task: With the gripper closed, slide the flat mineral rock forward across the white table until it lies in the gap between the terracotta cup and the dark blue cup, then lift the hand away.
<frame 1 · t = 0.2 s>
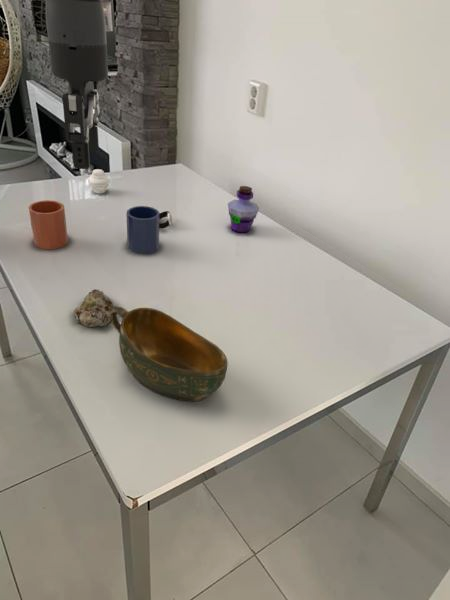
hand: (87, 158, 70), 31 cm above the table, tool pointing down, fingers open, 8 cm apart
cup right: (143, 246, 112), on the table
mineral rock: (96, 313, 88), on the table
potion bottle: (240, 229, 125), on the table
cup left: (51, 241, 109), on the table
white lidded jar: (99, 192, 137), on the table
painted kuksa bowl: (166, 376, 76), on the table
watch: (163, 225, 123), on the table
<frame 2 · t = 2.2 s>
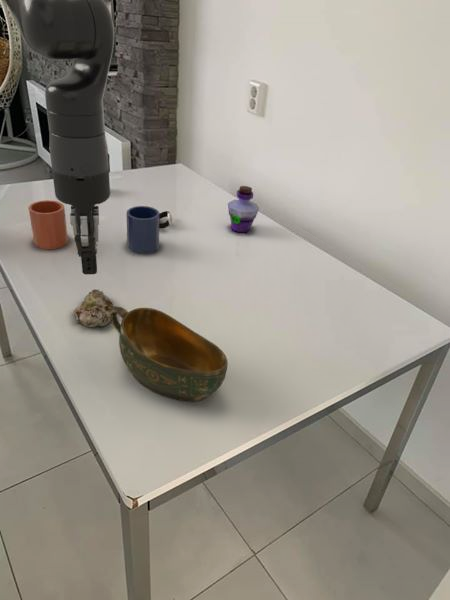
hand: (90, 271, 72), 15 cm above the table, tool pointing down, fingers closed
nothing on the table moved.
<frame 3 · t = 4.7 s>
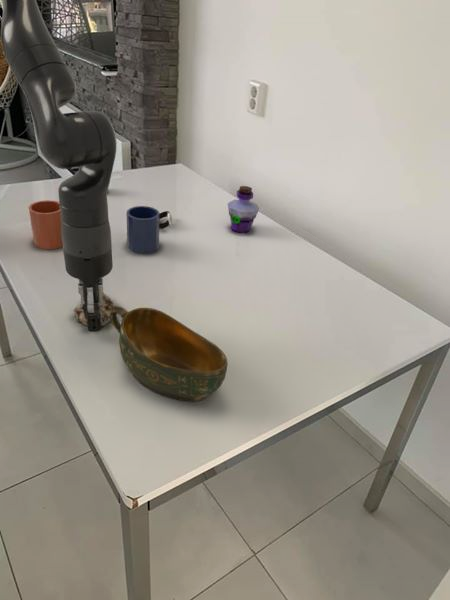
hand: (94, 329, 82), 1 cm above the table, tool pointing down, fingers closed
mineral rock: (96, 313, 88), on the table, touching gripper
everything else where it was.
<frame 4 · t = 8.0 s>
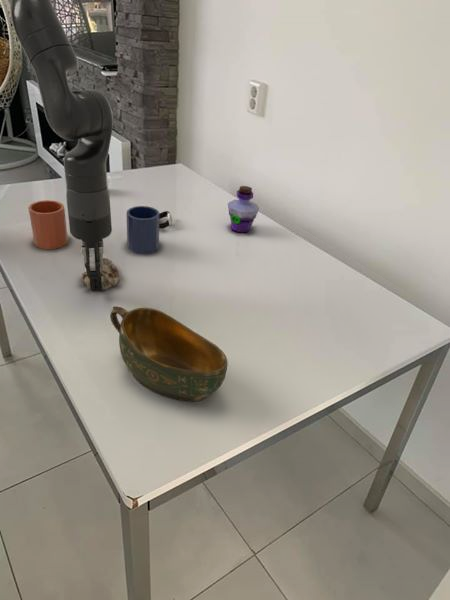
hand: (96, 289, 92), 2 cm above the table, tool pointing down, fingers closed
mineral rock: (102, 279, 98), on the table, touching gripper
everything else where it was.
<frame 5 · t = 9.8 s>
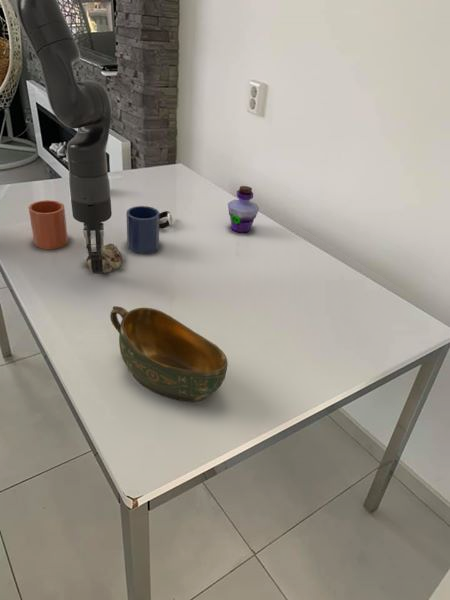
hand: (97, 271, 97), 2 cm above the table, tool pointing down, fingers closed
mineral rock: (106, 263, 104), on the table, touching gripper
everything else where it was.
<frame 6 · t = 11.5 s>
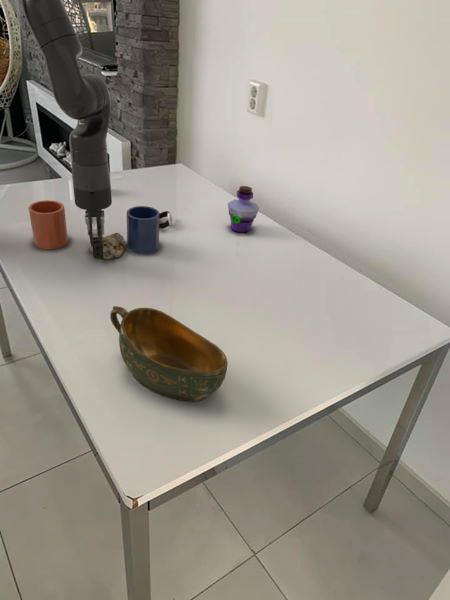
hand: (98, 256, 102), 2 cm above the table, tool pointing down, fingers closed
mineral rock: (109, 250, 108), on the table, touching gripper
everything else where it was.
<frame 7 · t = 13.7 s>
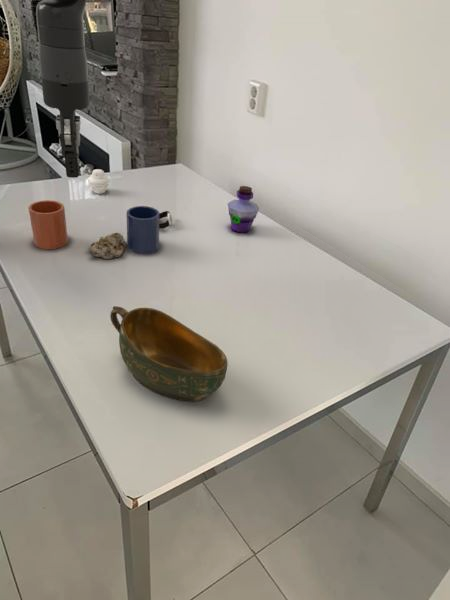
hand: (72, 176, 85), 22 cm above the table, tool pointing down, fingers closed
mineral rock: (110, 250, 109), on the table
everything else where it was.
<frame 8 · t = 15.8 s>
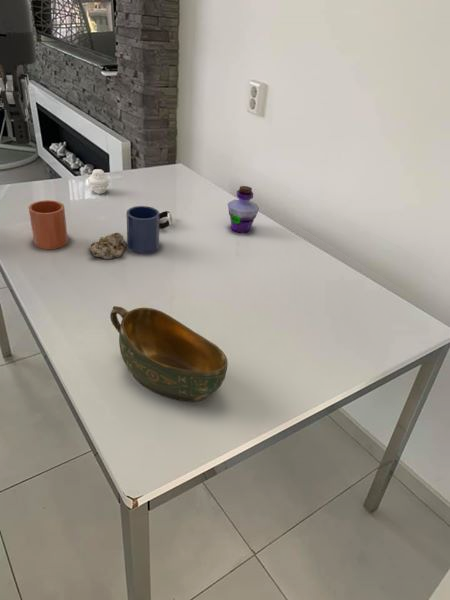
hand: (23, 142, 78), 29 cm above the table, tool pointing down, fingers closed
nothing on the table moved.
at the end: mineral rock inside the target area on the table beside the cup right (4.0 cm from its centre), on the table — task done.
